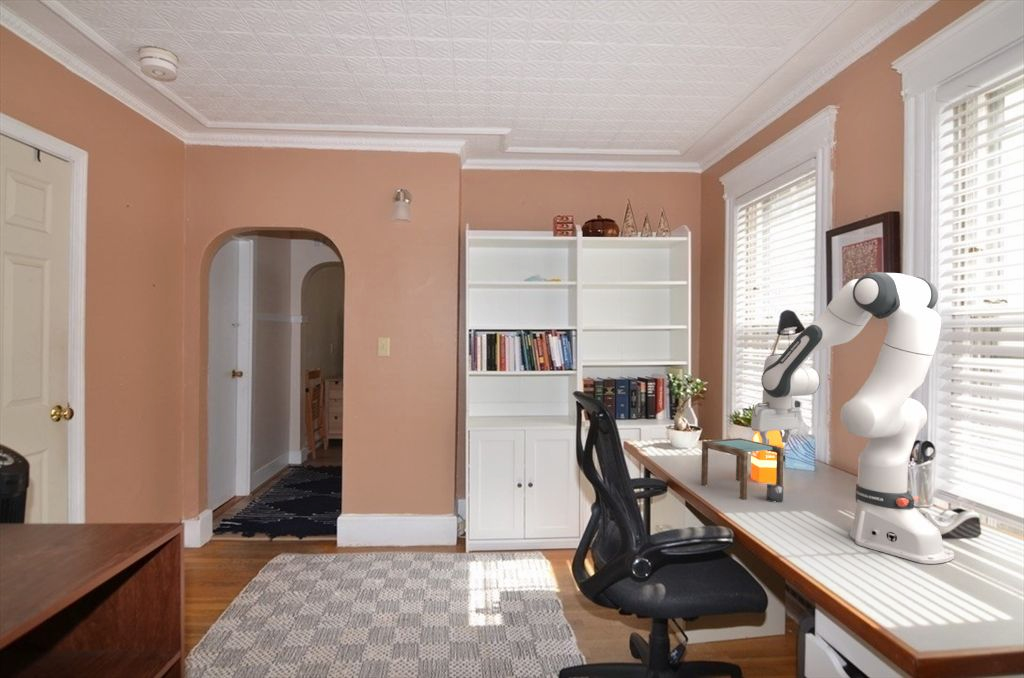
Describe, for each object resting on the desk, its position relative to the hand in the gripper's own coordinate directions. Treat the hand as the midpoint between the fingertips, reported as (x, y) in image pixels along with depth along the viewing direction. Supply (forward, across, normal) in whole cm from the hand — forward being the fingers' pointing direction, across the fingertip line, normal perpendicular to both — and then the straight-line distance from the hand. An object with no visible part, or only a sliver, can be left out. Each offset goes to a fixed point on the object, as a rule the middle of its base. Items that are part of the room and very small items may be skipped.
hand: (775, 443), depth 182 cm
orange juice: (+20, +19, +18) cm, 33 cm away
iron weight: (+19, 0, 0) cm, 19 cm away
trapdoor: (+4, 0, +14) cm, 15 cm away
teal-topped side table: (+19, 0, +14) cm, 23 cm away
